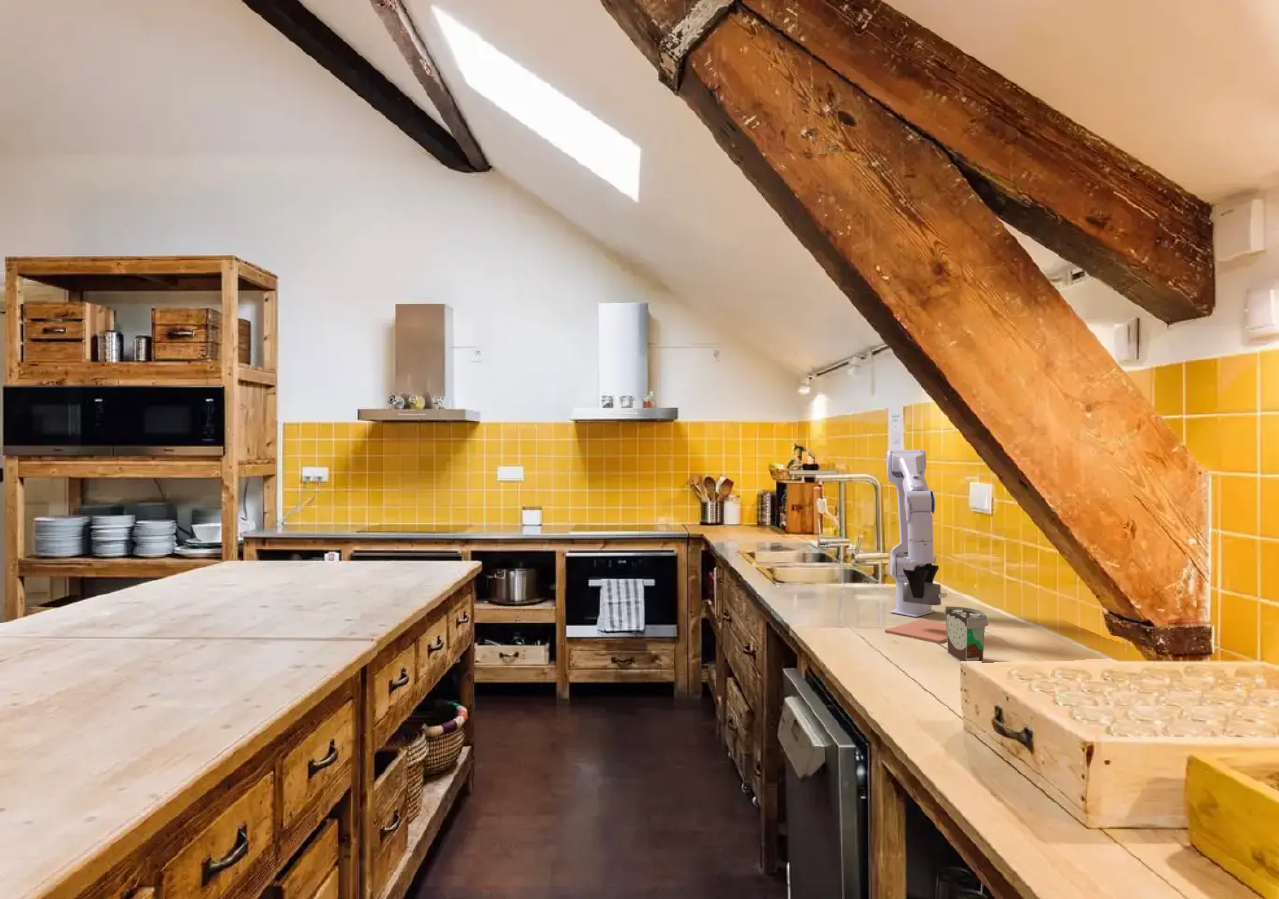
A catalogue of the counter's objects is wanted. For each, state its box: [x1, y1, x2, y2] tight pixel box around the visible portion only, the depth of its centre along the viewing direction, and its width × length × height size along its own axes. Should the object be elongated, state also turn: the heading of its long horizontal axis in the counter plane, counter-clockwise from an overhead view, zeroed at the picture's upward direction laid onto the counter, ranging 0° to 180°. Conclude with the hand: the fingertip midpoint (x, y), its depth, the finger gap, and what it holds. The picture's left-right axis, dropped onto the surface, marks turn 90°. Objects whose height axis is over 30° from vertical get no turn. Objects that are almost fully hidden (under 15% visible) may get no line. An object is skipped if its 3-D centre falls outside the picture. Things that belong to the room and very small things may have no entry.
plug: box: [902, 581, 948, 606], centre depth 179 cm, size 4×10×4 cm, turn 47°
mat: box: [884, 619, 947, 644], centre depth 178 cm, size 16×14×1 cm
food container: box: [944, 605, 989, 663], centre depth 155 cm, size 12×6×10 cm, turn 179°
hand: (921, 596), depth 179 cm, fingers closed on plug, 4 cm apart
